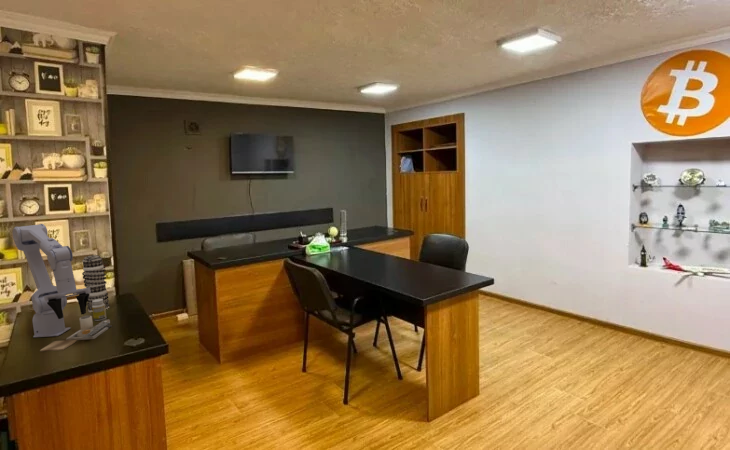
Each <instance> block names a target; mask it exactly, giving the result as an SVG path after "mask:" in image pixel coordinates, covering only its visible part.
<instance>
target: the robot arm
mask: <svg viewBox="0 0 730 450" xmlns="http://www.w3.org/2000/svg"><path fill="white" fill-rule="evenodd" d="M48 234H49V233H48V228H47V227H46V225H45V224H43V223H39V224H33V225H22V226H14V227H13V228H12V238H13V241H14V242H13V243H14V244H15V247H16V248H17V250H19V251H22V252H23V254H24V256H25V259H26V261H27V265H28V266H29V267H28V268H29V270H30V273H31V274H32V278H33V280H34V283H35V285H36V289H37V290H35V291H34V293H33V294H32V295H31V302H32V303H31V304H32V309H33V311H34V312H35V313H34V314H33V317H32V327H33V333H34V335H32V336H33V337H32V338H46V337H58V336H60V335H62V334H64V333H65V332H67V331H69V330H70V329H71V328H72V327H66V325H65V319H64V317H65V315H64V310H65V307H66V306H67V304H68V299H67V298H69V297H75V298H76V300H77V302H78V306H79V312H80V314H81V315H85V314H86V313H87V303H88V302H87V300H88V297H89V294H88V293H90V292H91V290H90V287H89V288H86V287H84V288H77V285H76V281H75V275H74V271H73V270H74V269H73V266H72V261H73V257H74V255H73V252H72V248H70V246H69V245H62V244H61V243H60V242H59V241H58V240H56V239H55V238H54V237H49V235H48ZM41 252H42V253H44V254H45V255H46V258H47V261H48V264H49V267H50V269H51V270H52V272H53V279H54V282H55V285H54V284H52V281H51V277H50V275H49V273H48V269H47V267H46V265H45V262H44V259H43V256H42V253H41Z"/></svg>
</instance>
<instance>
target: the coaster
mask: <svg viewBox="0 0 730 450" xmlns="http://www.w3.org/2000/svg"><path fill="white" fill-rule="evenodd" d="M77 342H78V340H66V339H65V340H54V341H52V342H51V343H49V344H48V345H46V346H44V347H42V348H41V349H40V350H39V352H53V351H54V352H55V351H57V352H58V351H64V350H66V349H68V348H69V347H71V346H72V345H74V344H75V343H77Z"/></svg>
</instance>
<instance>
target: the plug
mask: <svg viewBox="0 0 730 450" xmlns="http://www.w3.org/2000/svg"><path fill="white" fill-rule="evenodd" d="M79 325H80V326H79V327H80V330H81V331H80V332H78V333H77V336H76V337H82V331H84V330H90V329H91V328H93V327H94V323H93V315H83V316H80V317H79ZM98 332H99V330H98V331H97V332H95V333H94V334H93V335H95V334H96V333H98ZM93 335H91V336H93Z"/></svg>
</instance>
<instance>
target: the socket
mask: <svg viewBox="0 0 730 450" xmlns="http://www.w3.org/2000/svg"><path fill="white" fill-rule="evenodd" d="M108 330H109V329H108V327H103V328H101V329H100V330H98V333H96V334H95V335H93V336H90V337H88V338H83V337H77V333H78V332H80V331H81V329H79V330H77V331H76V332H75V333H73V334H71V335H69V336H67V337H66V338H65V340H77V341H81V340H83V341H84V340H95V339H96V338H97V337H99V336H100V335H102V334H104V332H106V331H108Z"/></svg>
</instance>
